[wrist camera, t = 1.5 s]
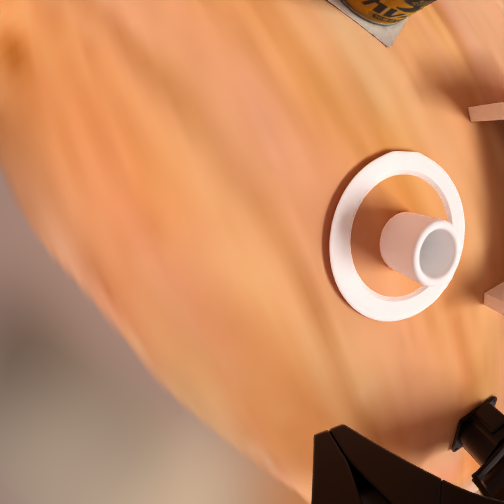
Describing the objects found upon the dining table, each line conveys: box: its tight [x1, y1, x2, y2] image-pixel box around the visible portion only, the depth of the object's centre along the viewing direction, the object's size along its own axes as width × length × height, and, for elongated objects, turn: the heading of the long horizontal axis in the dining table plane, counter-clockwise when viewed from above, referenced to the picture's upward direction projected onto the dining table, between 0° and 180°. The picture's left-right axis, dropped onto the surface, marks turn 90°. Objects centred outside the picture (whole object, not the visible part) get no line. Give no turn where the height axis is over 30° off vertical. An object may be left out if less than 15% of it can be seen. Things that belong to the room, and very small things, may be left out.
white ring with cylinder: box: [329, 151, 465, 321], centre depth 19 cm, size 12×12×4 cm
